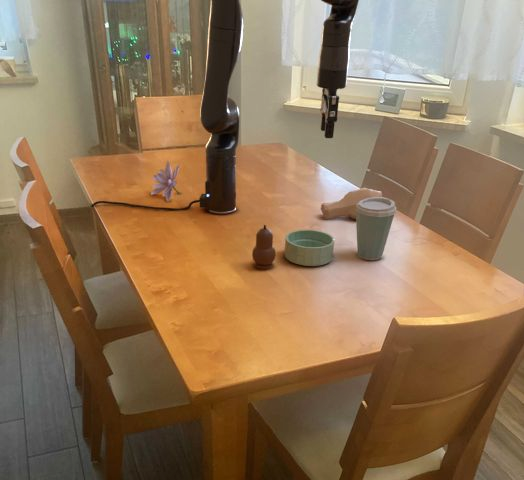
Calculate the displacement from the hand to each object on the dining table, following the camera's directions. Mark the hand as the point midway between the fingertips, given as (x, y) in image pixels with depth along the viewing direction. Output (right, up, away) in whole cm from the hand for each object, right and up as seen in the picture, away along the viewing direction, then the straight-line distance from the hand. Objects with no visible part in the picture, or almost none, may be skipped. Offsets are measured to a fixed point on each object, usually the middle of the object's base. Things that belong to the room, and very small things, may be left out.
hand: (326, 134), depth 146 cm
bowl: (-5, -33, 0) cm, 33 cm away
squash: (+11, -16, +28) cm, 34 cm away
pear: (-17, -36, -5) cm, 40 cm away
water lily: (-50, -5, +40) cm, 65 cm away
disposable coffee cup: (+12, -32, +3) cm, 35 cm away
